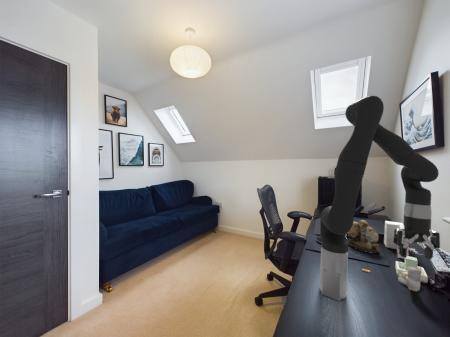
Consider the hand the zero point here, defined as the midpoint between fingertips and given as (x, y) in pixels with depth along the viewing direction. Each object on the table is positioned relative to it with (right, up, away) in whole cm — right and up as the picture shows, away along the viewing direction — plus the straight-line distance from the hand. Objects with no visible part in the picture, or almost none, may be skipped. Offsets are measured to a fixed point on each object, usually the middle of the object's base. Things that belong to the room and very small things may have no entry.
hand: (415, 257), depth 76 cm
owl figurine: (+11, -15, +46) cm, 49 cm away
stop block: (+13, -15, +16) cm, 25 cm away
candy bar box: (+27, -16, +36) cm, 48 cm away
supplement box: (+33, -15, +49) cm, 61 cm away
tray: (+13, -15, +16) cm, 26 cm away
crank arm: (+3, -13, +5) cm, 14 cm away
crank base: (+1, -15, +13) cm, 20 cm away
